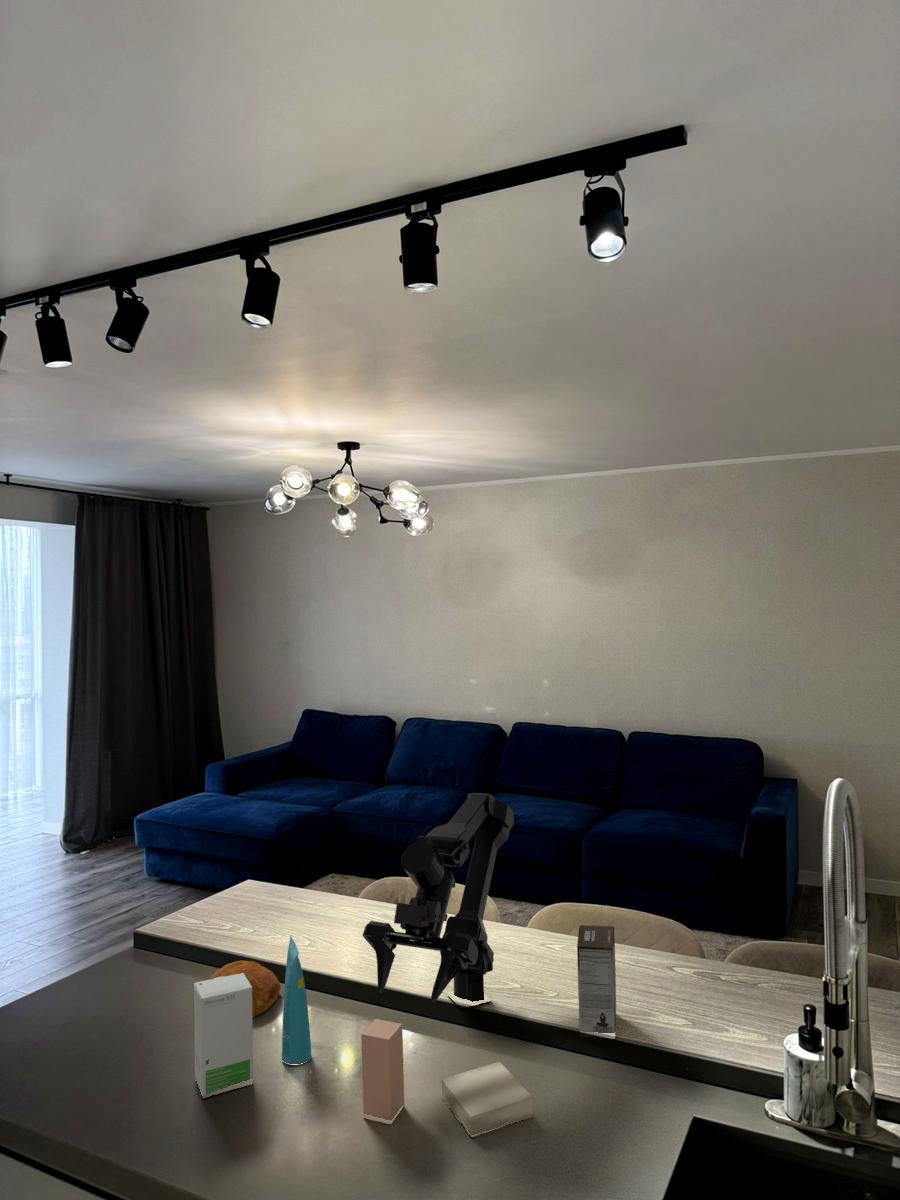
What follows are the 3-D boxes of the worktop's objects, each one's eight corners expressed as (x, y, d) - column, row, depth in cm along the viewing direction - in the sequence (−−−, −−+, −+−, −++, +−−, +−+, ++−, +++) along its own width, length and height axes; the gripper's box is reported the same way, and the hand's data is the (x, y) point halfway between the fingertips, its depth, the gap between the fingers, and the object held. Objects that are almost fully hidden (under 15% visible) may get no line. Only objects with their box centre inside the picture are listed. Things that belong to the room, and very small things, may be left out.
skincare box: (201, 1101, 124) (198, 1000, 124) (193, 1078, 130) (190, 982, 129) (256, 1084, 128) (253, 986, 127) (246, 1063, 133) (243, 969, 133)
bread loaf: (186, 1027, 149) (179, 988, 148) (237, 978, 164) (231, 941, 163) (250, 1040, 144) (244, 999, 143) (297, 987, 158) (292, 950, 157)
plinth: (442, 1098, 123) (441, 1079, 123) (499, 1080, 127) (499, 1061, 127) (471, 1138, 114) (470, 1117, 114) (532, 1116, 118) (532, 1096, 118)
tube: (317, 1065, 132) (313, 949, 132) (287, 1074, 130) (284, 955, 130) (304, 1043, 139) (301, 932, 139) (276, 1051, 137) (273, 938, 137)
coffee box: (580, 1011, 147) (578, 923, 147) (616, 1013, 146) (614, 925, 146) (578, 1038, 138) (576, 945, 138) (616, 1041, 137) (614, 947, 137)
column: (377, 1100, 123) (375, 1018, 123) (404, 1106, 121) (402, 1023, 121) (363, 1118, 119) (361, 1034, 119) (391, 1125, 117) (388, 1039, 117)
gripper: (365, 873, 135) (335, 967, 125) (470, 885, 128) (446, 986, 118) (388, 902, 143) (360, 994, 133) (487, 915, 136) (466, 1013, 126)
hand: (406, 996), depth 127 cm, fingers open, 9 cm apart
